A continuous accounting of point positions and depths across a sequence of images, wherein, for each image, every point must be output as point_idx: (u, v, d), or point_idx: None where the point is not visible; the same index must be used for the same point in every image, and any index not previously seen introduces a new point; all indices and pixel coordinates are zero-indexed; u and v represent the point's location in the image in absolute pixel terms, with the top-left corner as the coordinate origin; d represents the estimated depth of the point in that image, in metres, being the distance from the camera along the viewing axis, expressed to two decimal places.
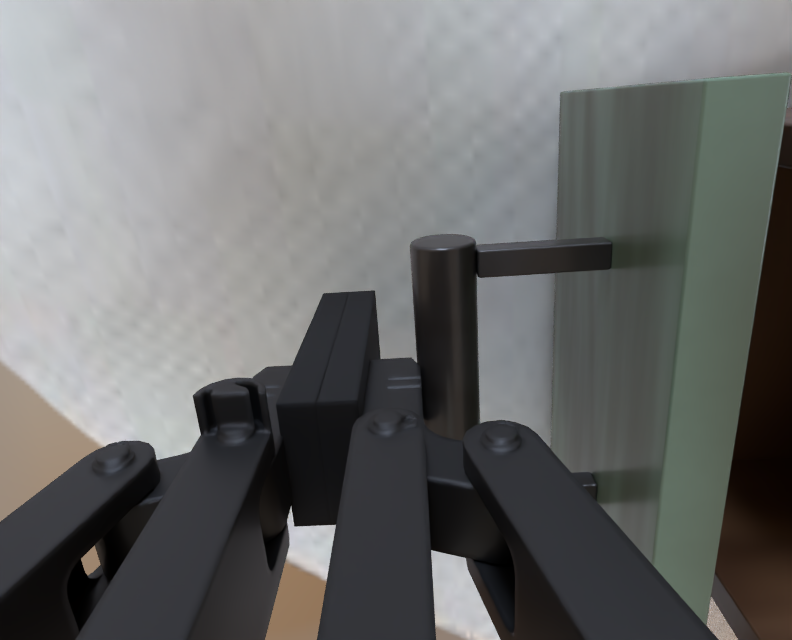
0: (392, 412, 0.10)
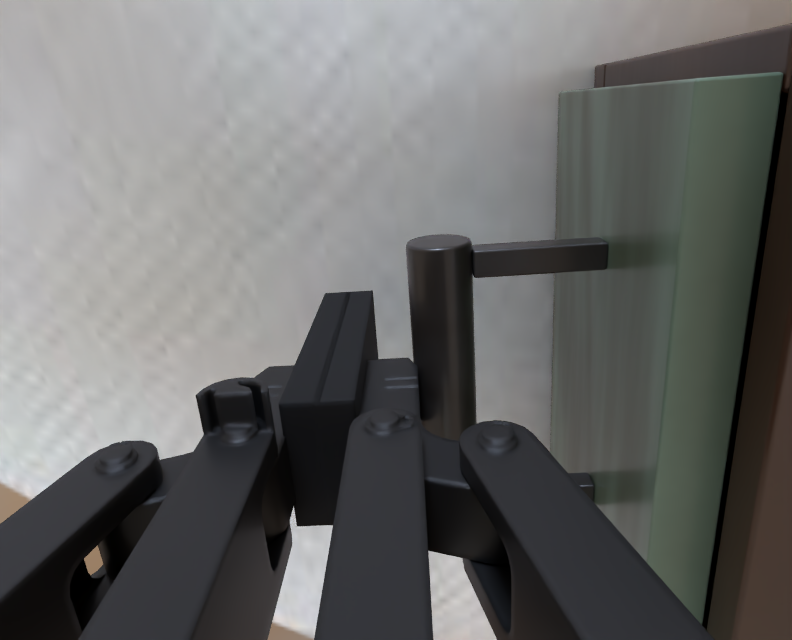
0: (389, 412, 0.10)
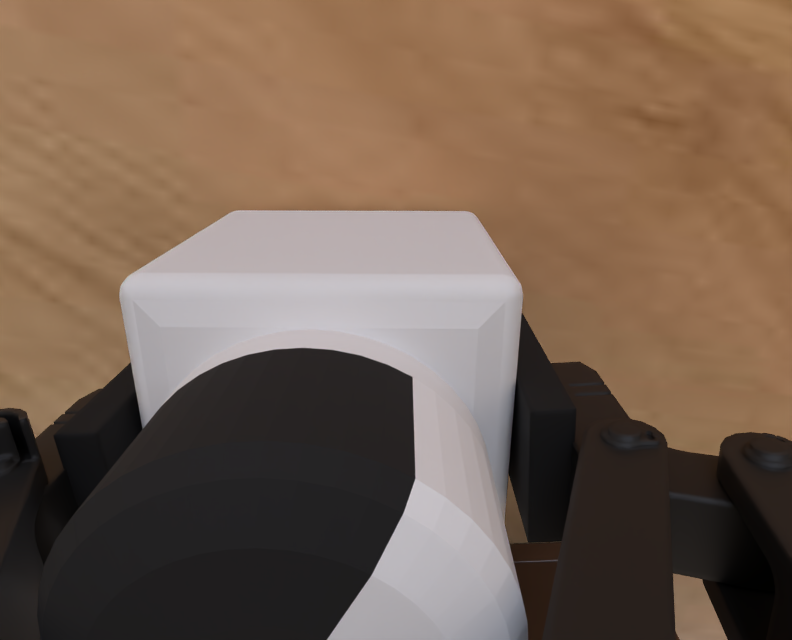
0: (631, 424, 0.09)
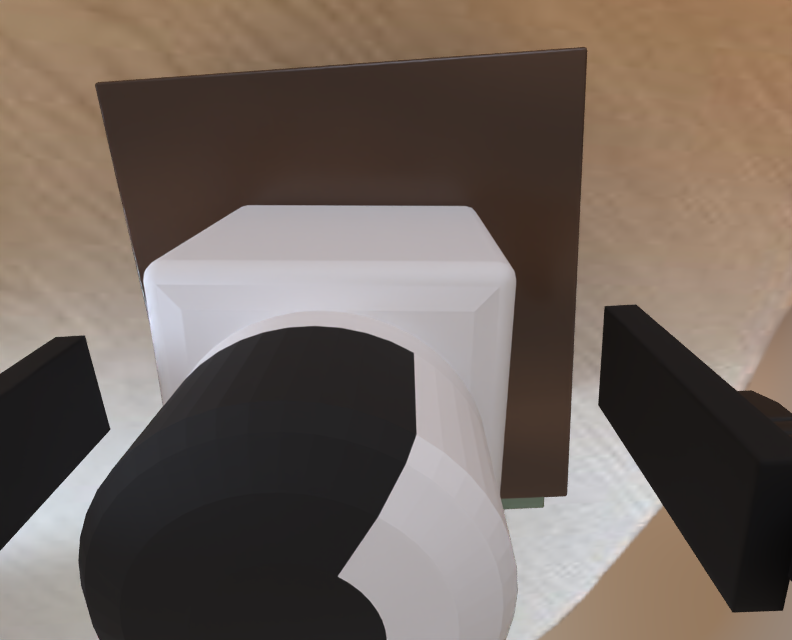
0: None
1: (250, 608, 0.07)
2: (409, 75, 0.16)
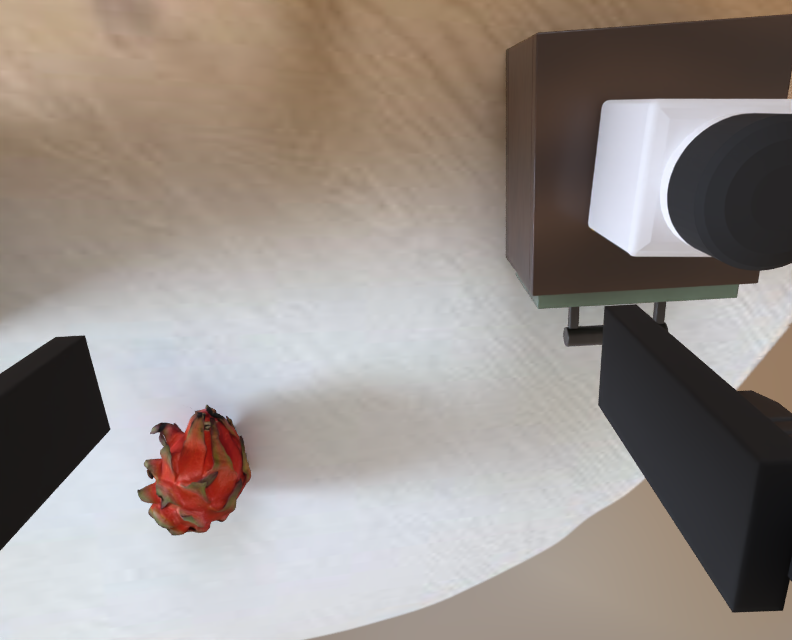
0: None
1: (776, 184, 0.22)
2: (705, 28, 0.31)
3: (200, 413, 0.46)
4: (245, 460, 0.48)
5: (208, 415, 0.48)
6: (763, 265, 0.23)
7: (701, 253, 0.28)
